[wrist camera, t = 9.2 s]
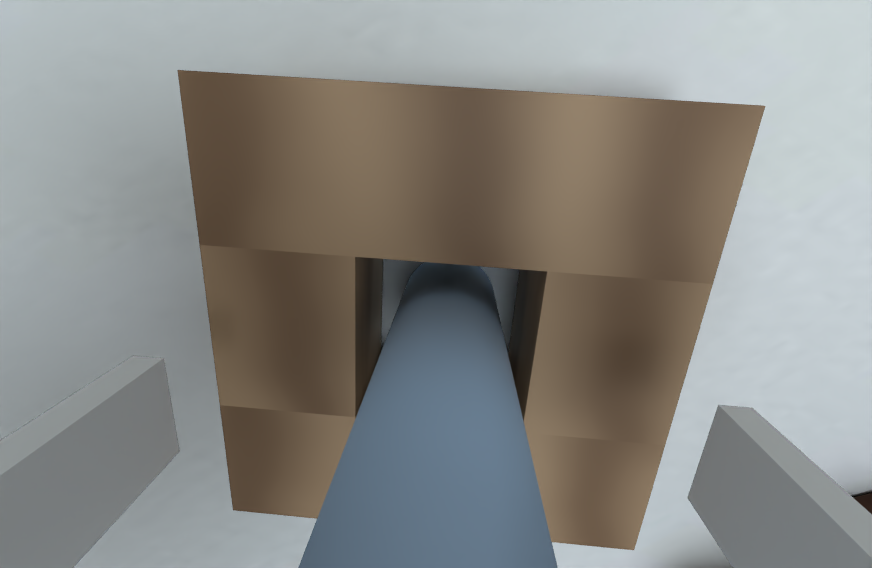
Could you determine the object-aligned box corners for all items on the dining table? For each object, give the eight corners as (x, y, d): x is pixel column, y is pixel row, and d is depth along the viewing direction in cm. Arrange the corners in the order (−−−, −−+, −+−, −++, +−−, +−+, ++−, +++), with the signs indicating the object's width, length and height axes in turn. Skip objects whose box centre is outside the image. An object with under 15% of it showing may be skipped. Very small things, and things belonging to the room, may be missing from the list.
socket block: (283, 429, 21) (233, 510, 17) (260, 92, 16) (177, 70, 11) (594, 458, 21) (634, 550, 16) (672, 118, 16) (765, 105, 11)
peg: (403, 335, 19) (191, 1042, 4) (406, 252, 18) (115, 832, 3) (488, 342, 19) (602, 1100, 4) (498, 259, 18) (721, 907, 3)
